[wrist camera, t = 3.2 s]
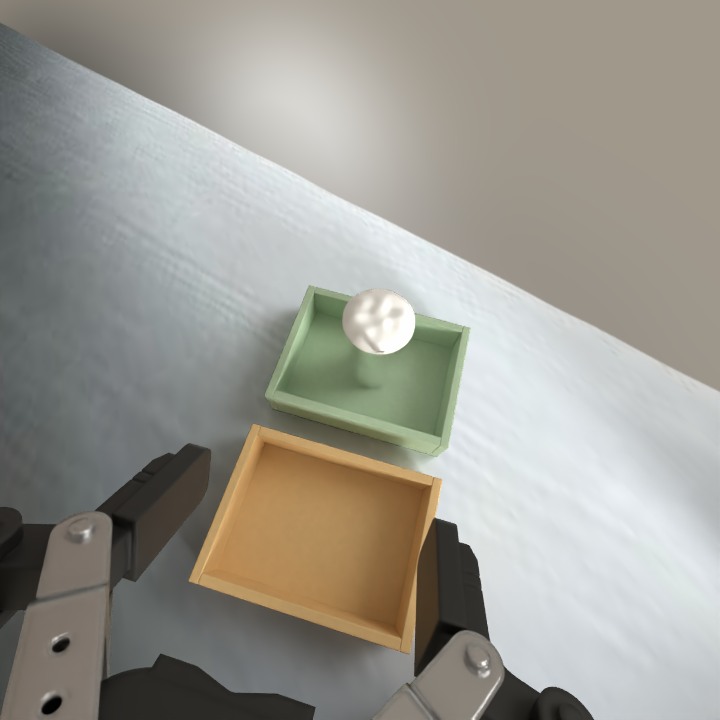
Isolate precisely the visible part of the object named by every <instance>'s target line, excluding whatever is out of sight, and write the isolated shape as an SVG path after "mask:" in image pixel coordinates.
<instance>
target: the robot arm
mask: <svg viewBox="0 0 720 720" xmlns="http://www.w3.org/2000/svg"><path fill="white" fill-rule="evenodd" d="M210 460H211V450H210V449H208V448H204V447H201V446H198V445H194V444H191V443H188V444H187V445H185V446H184V447H183V448H182V449H181V450H180V451H179V452H178V453H177V454H176V455H174V454H171V453H167V454H165V455H163V456H161V457H158V458H156V459H154V460H153V461H151V462H150V463H149V464H148V465H147V466H146V467H144V468H143V469H142V471H141V472H139V473H138V474H136V475H135V476H134V477H133V479H132V480H129V481H128V482H127V483H126V484H125V485H124V486H123V487H121V488H120V489H119V490H118V491H117V492H116V493H114V494H113V495H112V496H111V497H110V498H109V499H108V500H106V501H105V502H104V503H103V504H102V505H101V506H99V507H98V508H97V509H96V510H95V511H86V512H80V513H77V514H74V515H71V516H69V517H67V518H65V519H64V520H62V521H61V522H59V523H58V524H23V523H22V516H21V514H20V513H19V511H17V510H15V509H13V508H8V507H0V628H1V627H2V626H3V625H4V624H5V623H6V622H7V621H8V620H9V619H10V618H11V617H12V616H13V615H14V614H15V613H16V612H17V611H18V610H26V613H25V617H24V621H23V625H22V629H21V634H20V638H19V642H18V646H17V650H16V654H15V658H14V662H13V667H12V671H11V675H10V679H9V683H8V687H7V691H6V695H5V700H4V704H3V708H2V712H1V716H0V720H313V716H314V712H315V707H314V706H311V705H308V704H305V703H302V702H299V701H296V700H294V699H291V698H288V697H285V696H282V695H279V694H269V693H234V692H230V691H229V690H227V689H226V688H225V687H223V686H222V685H221V684H220V683H218V682H217V681H216V680H214V679H213V678H212V677H211V676H209V675H208V674H207V673H205V672H204V671H203V670H202V669H200V668H199V667H198V666H195V665H192V664H189V663H186V662H183V661H180V660H178V659H175V658H172V657H169V656H166V655H163V654H160V655H159V657H158V658H157V660H156V662H155V663H154V665H153V666H152V667H147V668H138V669H133V670H129V671H124V672H122V673H119V674H116V675H113V676H111V677H109V675H110V644H111V626H112V607H113V588H114V587H115V586H116V585H117V583H118V582H119V581H120V580H121V579H122V578H125V579H128V580H131V581H134V582H136V580H137V579H138V578H139V577H140V576H141V574H142V573H143V572H144V571H145V569H146V568H147V567H148V566H149V564H150V563H151V562H152V561H153V560H154V558H155V557H156V556H157V555H158V553H159V552H160V551H161V550H162V548H163V547H164V546H165V545H166V543H167V542H168V541H169V540H170V539H171V537H172V536H173V535H174V534H175V532H176V531H177V530H178V529H179V527H180V526H181V525H182V524H183V522H184V521H185V520H186V519H187V518H188V516H189V515H190V514H191V513H192V511H193V510H194V509H195V508H196V506H197V505H198V504H199V503H200V501H201V500H202V498H203V497H204V495H205V492H206V490H207V486H208V479H209V470H210ZM479 576H480V574H479V567H478V561H477V558H476V557H475V555H474V553H473V551H472V549H471V548H470V546H469V545H467V544H464V543H460V542H459V540H458V531H457V525H456V524H454V523H451V522H447V521H444V520H441V519H437V518H433V520H432V522H431V525H430V527H429V530H428V533H427V535H426V538H425V540H424V543H423V546H422V548H421V551H420V554H419V559H418V564H417V585H416V624H415V663H414V676H415V677H417V678H416V679H415V680H414V681H413V682H412V683H411V684H410V685H409V684H408V683H406V684H404V685H403V686H402V687H401V688H400V689H399V690H398V691H397V692H396V693H395V694H394V695H393V696H392V698H391V699H390V700H389V701H388V702H387V703H386V704H385V705H384V706H383V707H382V709H381V710H380V711H379V712H378V713H377V714H376V715H375V716H374V717H373V718H372V720H594V719H593V717H592V716H591V714H590V713H589V711H588V710H587V709H586V708H585V706H584V705H583V704H582V703H581V702H580V701H579V700H578V699H577V698H575V697H574V696H573V695H572V694H570V693H569V692H567V691H565V690H563V689H560V688H557V687H548V688H546V689H544V690H543V691H542V692H541V693H539V692H537V691H536V690H534V689H533V688H532V687H530V686H529V685H527V684H526V683H524V682H523V681H521V680H520V679H518V678H517V677H515V676H514V675H513V674H512V673H510V672H509V671H508V670H507V669H506V668H505V667H504V665H503V662H502V659H501V657H500V655H499V653H498V651H497V650H496V648H495V647H494V646H493V645H492V644H491V642H490V639H489V633H488V626H487V620H486V613H485V607H484V600H483V593H482V591H481V588H482V587H481V580H480V578H479Z"/></svg>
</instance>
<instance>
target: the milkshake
mask: <svg viewBox="0 0 720 720" xmlns="http://www.w3.org/2000/svg"><path fill="white" fill-rule="evenodd" d="M342 325H343V329H344V334H345V339H346V344H347V350H348V358H349V366H350V373H351V375H352V377H353V378H354V380H355V381H356V382H357V384H359V385H361V386H364V387H367V388H374V387H378V386H382V385H383V383H384V382H385V381H386V380H387V379H388V377H389V376H390V374H391V373H392V371H393V369H394V367H395V365H396V363H397V361H398V359H399V357H400V355H401V354H402V352H403V350H404V349H405V347H406V345H407V344H408V342H409V341H410V339H411V337H412V335H413V333H414V329H415V315H414V311H413V309H412V307H411V305H410V304H409V302H408V301H407V300H405V299H404V298H402V297H401V296H399V295H398V294H396V293H395V292H393V291H390V290H383V289H371V290H367V291H364V292H362V293H360V294H358V295H356V296H354V297H353V298H351V299H350V300H349V302H348V303H347V304H346V306H345V309H344V312H343V318H342Z"/></svg>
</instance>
